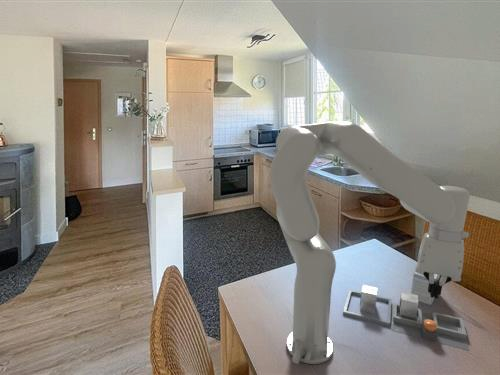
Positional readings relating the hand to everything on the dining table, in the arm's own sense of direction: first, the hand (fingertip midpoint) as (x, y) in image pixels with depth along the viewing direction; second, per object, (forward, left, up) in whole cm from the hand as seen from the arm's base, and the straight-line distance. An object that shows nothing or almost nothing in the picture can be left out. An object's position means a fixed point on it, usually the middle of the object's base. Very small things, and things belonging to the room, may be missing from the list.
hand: (433, 295), depth 88 cm
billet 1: (+7, +17, -13) cm, 22 cm away
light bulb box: (+23, 0, -14) cm, 27 cm away
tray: (+7, +17, -14) cm, 23 cm away
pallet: (+5, 0, -14) cm, 15 cm away
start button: (0, 0, -10) cm, 10 cm away
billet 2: (+7, +5, -13) cm, 15 cm away
